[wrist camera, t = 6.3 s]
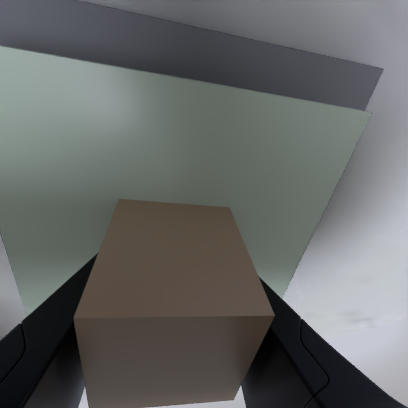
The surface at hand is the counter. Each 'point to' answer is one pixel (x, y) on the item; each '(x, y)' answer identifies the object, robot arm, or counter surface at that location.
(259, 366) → the robot arm
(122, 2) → the counter surface
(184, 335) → the lid
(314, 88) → the mat
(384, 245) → the counter surface
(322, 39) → the counter surface
